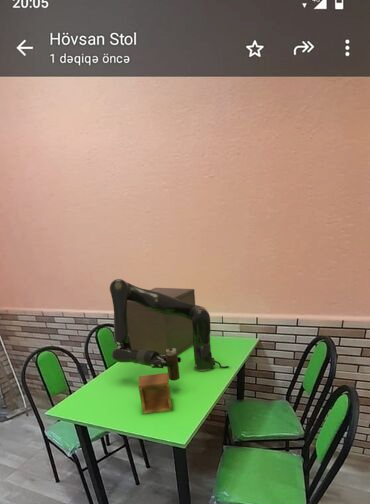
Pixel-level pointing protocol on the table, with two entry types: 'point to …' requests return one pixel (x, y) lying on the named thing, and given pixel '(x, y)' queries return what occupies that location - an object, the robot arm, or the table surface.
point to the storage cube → (160, 325)
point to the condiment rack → (155, 393)
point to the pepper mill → (174, 371)
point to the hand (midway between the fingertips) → (176, 362)
